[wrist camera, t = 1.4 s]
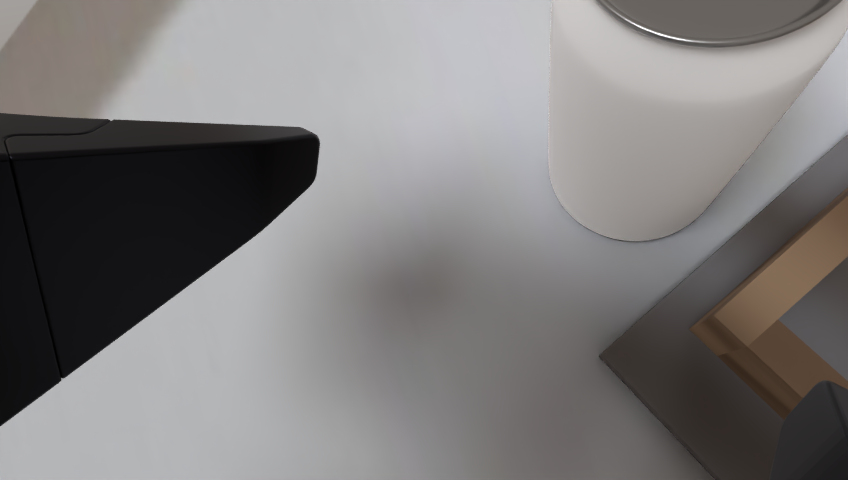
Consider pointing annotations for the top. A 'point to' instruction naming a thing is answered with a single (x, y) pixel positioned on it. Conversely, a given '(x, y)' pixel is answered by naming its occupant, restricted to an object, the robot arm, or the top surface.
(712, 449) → the socket holder
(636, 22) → the can
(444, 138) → the top surface
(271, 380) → the top surface
